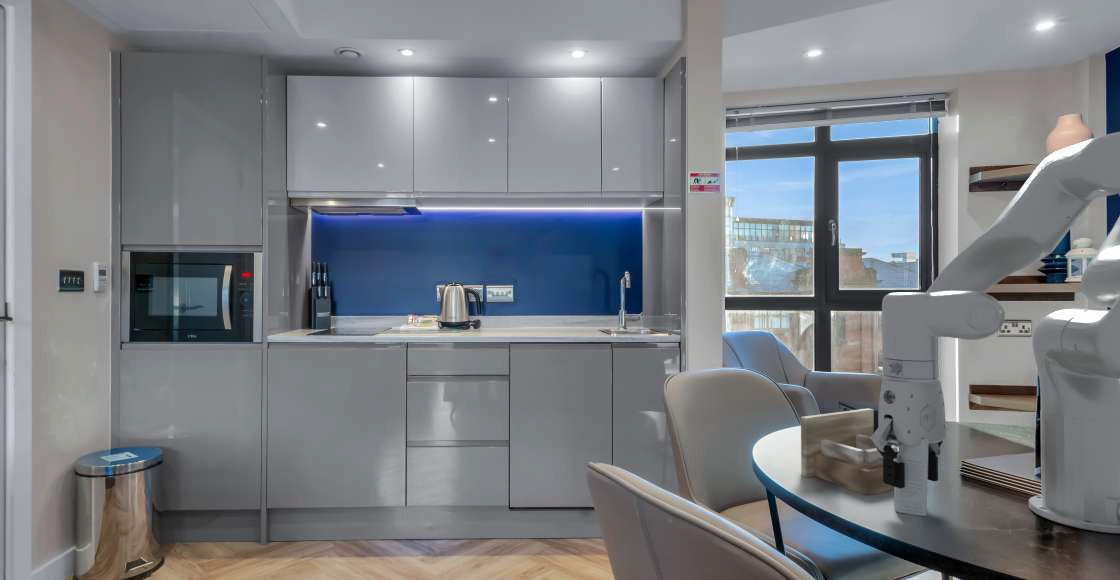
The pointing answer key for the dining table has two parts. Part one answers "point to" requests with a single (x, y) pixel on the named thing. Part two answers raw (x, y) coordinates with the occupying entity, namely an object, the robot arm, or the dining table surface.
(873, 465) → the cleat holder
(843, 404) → the small box
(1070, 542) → the dining table surface
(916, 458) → the skincare box
